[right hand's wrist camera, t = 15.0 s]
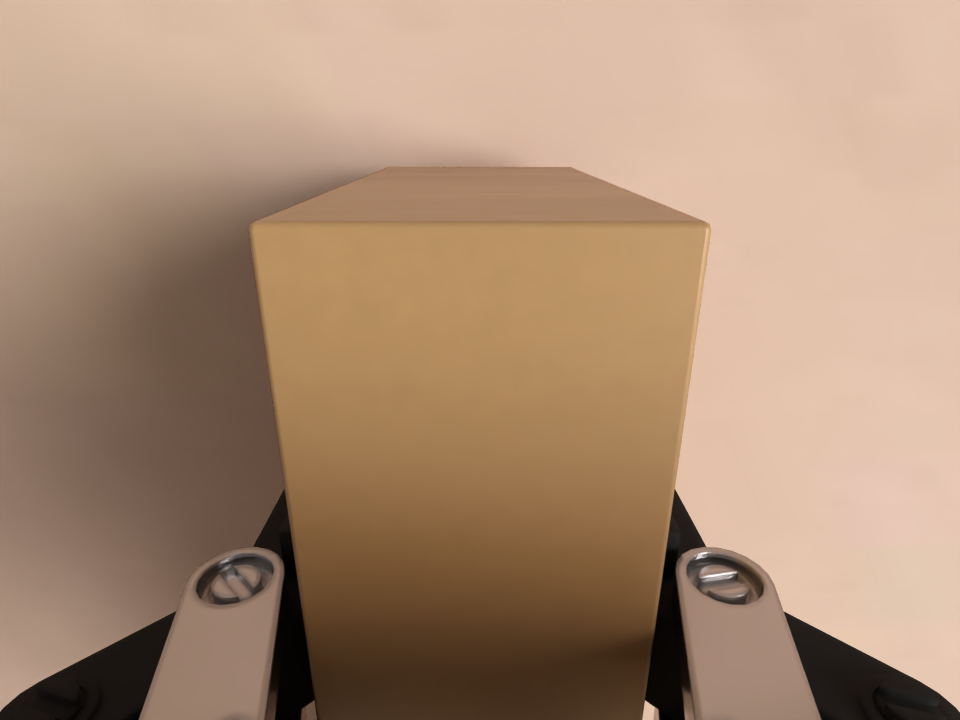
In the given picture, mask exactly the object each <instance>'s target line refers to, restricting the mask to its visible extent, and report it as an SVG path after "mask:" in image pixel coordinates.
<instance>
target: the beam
mask: <svg viewBox="0 0 960 720" xmlns="http://www.w3.org/2000/svg"><path fill="white" fill-rule="evenodd" d="M248 232H249V239H250V246H251V253H252V260H253V267H254V274H255V281H256V288H257V296H258V303H259V310H260V317H261V324H262V331H263V338H264V345H265V352H266V359H267V366H268V374H269V381H270V388H271V395H272V402H273V409H274V416H275V423H276V430H277V437H278V444H279V451H280V459H281V466H282V473H283V480H284V487H285V494H286V501H287V508H288V515H289V522H290V529H291V536H292V544H293V551H294V558H295V565H296V572H297V579H298V586H299V593H300V600H301V607H302V614H303V622H304V629H305V636H306V643H307V650H308V657H309V664H310V671H311V678H312V685H313V692H314V699H315V707H316V714H317V720H642V717H643V710H644V703H645V696H646V689H647V682H648V674H649V667H650V660H651V653H652V646H653V639H654V632H655V625H656V618H657V611H658V604H659V596H660V589H661V582H662V575H663V568H664V561H665V554H666V547H667V540H668V533H669V526H670V518H671V511H672V504H673V497H674V490H675V483H676V476H677V469H678V462H679V455H680V448H681V440H682V433H683V426H684V419H685V412H686V405H687V398H688V391H689V384H690V377H691V370H692V362H693V355H694V348H695V341H696V334H697V327H698V320H699V313H700V306H701V299H702V292H703V284H704V277H705V270H706V263H707V256H708V249H709V242H710V235H711V228H710V224H709V223H707V222H704V221H702V220H700V219H697V218H695V217H692V216H690V215H687V214H685V213H682V212H680V211H677V210H675V209H672V208H670V207H667V206H665V205H663V204H660V203H658V202H655V201H653V200H650V199H648V198H645V197H643V196H640V195H638V194H635V193H633V192H630V191H628V190H626V189H623V188H621V187H618V186H616V185H613V184H611V183H608V182H606V181H603V180H601V179H598V178H596V177H593V176H591V175H588V174H586V173H584V172H581V171H579V170H576V169H574V168H571V167H388V168H385V169H383V170H381V171H378V172H376V173H373V174H371V175H368V176H366V177H363V178H361V179H358V180H356V181H353V182H351V183H348V184H346V185H344V186H341V187H339V188H336V189H334V190H331V191H329V192H326V193H324V194H321V195H319V196H316V197H314V198H312V199H309V200H307V201H304V202H302V203H299V204H297V205H294V206H292V207H289V208H287V209H284V210H282V211H280V212H277V213H275V214H272V215H270V216H267V217H265V218H262V219H260V220H257V221H255V222H253V223H251V224H250V226H249V229H248Z"/></svg>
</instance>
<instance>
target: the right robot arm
mask: <svg viewBox="0 0 960 720" xmlns="http://www.w3.org/2000/svg"><path fill="white" fill-rule="evenodd" d="M314 700H315V699H314V692H313V685H312V678H311V671H310V664H309V657H308V650H307V643H306V636H305V629H304V622H303V614H302V607H301V600H300V593H299V586H298V579H297V572H296V565H295V558H294V551H293V544H292V536H291V529H290V522H289V515H288V508H287V501H286V494H285V489H284V491H283V493H282V494H281V496H280V498H279V500H278V502H277V504H276V506H275V507H274V509H273V511H272V513H271V515H270V517H269V519H268V520H267V522H266V524H265V526H264V528H263V530H262V531H261V533H260V535H259V537H258V539H257V541H256V543H255V544H254V546H253V547H245V548H239V549H234V550H230V551H227V552H224V553H222V554H219V555H217V556H215V557H213V558H211V559H210V560H208V561H207V562H205V563H203V564H202V565H201V566H200V567H199V568H198V569H197V570H196V571H195V572H193V573H192V575H191V576H190V578H189V580H188V582H187V583H186V585H185V588H184V591H183V594H182V597H181V600H180V603H179V605H178V608H177V611H176V612H174V613H172V614H170V615H168V616H166V617H164V618H162V619H160V620H158V621H156V622H154V623H152V624H151V625H149V626H147V627H145V628H143V629H141V630H139V631H137V632H135V633H133V634H131V635H129V636H127V637H125V638H123V639H121V640H120V641H118V642H116V643H114V644H112V645H110V646H108V647H106V648H104V649H102V650H100V651H98V652H96V653H94V654H92V655H90V656H88V657H87V658H85V659H83V660H81V661H79V662H77V663H75V664H73V665H71V666H69V667H67V668H65V669H63V670H61V671H59V672H57V673H56V674H54V675H52V676H50V677H48V678H46V679H44V680H42V681H40V682H38V683H37V684H35V685H33V686H32V687H30V688H29V689H27V690H25V691H24V692H22V693H20V694H19V695H18V696H17V697H16V698H15V699H13V700H12V701H11V702H10V703H9V704H8V705H6V706H5V707H4V708H3V709H2V710H1V712H0V720H306V710H305V706H307V705H308V704H309V703H311V702H312V701H314ZM645 700H646V701H647V702H649V703H650V704H651V705H653V706H654V707H655V710H654V720H960V712H959V711H958V710H957V709H956V708H955V707H954V706H953V705H952V704H951V703H950V702H948V701H947V700H946V699H945V698H944V697H943V696H941V695H940V694H939V693H937V692H936V691H934V690H933V689H931V688H929V687H928V686H926V685H924V684H923V683H921V682H920V681H918V680H916V679H914V678H912V677H910V676H908V675H906V674H904V673H902V672H900V671H898V670H896V669H894V668H892V667H890V666H889V665H887V664H885V663H883V662H881V661H879V660H877V659H875V658H873V657H871V656H869V655H867V654H865V653H863V652H861V651H859V650H857V649H856V648H854V647H852V646H850V645H848V644H846V643H844V642H842V641H840V640H838V639H836V638H834V637H832V636H830V635H828V634H826V633H824V632H823V631H821V630H819V629H817V628H815V627H813V626H811V625H809V624H807V623H805V622H803V621H801V620H799V619H797V618H795V617H793V616H791V615H790V614H788V613H786V612H784V611H783V608H782V605H781V603H780V600H779V597H778V594H777V591H776V588H775V585H774V583H773V582H772V580H771V578H770V576H769V575H768V573H767V572H765V571H764V570H763V569H762V568H761V567H760V566H759V565H758V564H757V563H755V562H753V561H752V560H750V559H749V558H747V557H745V556H743V555H741V554H738V553H736V552H733V551H730V550H726V549H721V548H715V547H706V546H705V544H704V542H703V540H702V538H701V536H700V534H699V533H698V531H697V529H696V527H695V525H694V523H693V522H692V520H691V518H690V516H689V514H688V512H687V510H686V509H685V507H684V505H683V503H682V501H681V499H680V498H679V496H678V494H677V492H676V490H674V497H673V504H672V511H671V518H670V526H669V533H668V540H667V547H666V554H665V561H664V568H663V575H662V582H661V589H660V596H659V604H658V611H657V618H656V625H655V632H654V639H653V646H652V653H651V660H650V667H649V674H648V682H647V689H646V696H645Z"/></svg>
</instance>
